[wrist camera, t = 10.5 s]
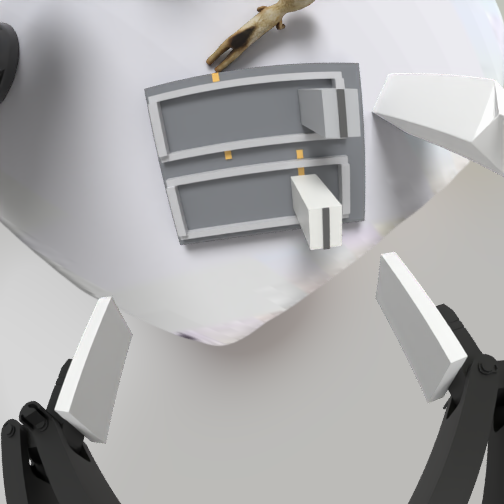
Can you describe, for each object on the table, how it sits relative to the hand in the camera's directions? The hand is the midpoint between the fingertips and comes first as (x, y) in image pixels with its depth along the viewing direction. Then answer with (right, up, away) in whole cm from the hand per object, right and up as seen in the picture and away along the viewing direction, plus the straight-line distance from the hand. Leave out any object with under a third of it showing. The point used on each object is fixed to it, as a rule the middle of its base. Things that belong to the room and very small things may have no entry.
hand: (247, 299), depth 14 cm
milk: (+19, +21, +18) cm, 33 cm away
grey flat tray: (+2, +14, +21) cm, 25 cm away
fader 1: (+7, +18, +16) cm, 25 cm away
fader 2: (+6, +9, +21) cm, 24 cm away
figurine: (+1, +27, +13) cm, 30 cm away
